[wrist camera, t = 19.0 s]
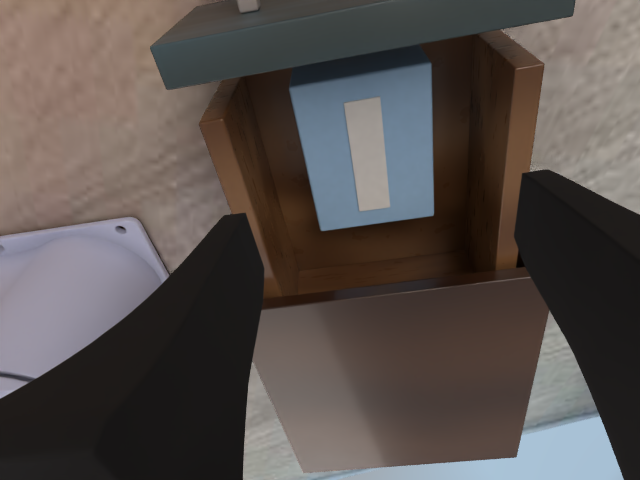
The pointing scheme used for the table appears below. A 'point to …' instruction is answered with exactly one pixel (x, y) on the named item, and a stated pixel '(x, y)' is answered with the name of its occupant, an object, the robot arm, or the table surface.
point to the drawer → (448, 129)
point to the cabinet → (403, 369)
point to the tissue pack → (367, 136)
